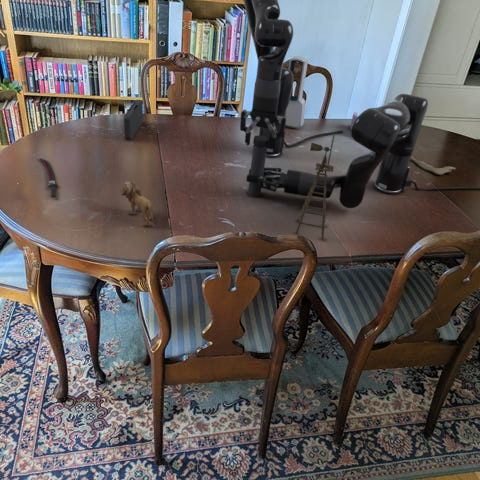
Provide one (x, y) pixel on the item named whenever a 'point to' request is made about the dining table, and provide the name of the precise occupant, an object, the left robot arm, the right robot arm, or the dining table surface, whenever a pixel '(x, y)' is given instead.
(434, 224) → the dining table surface
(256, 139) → the lid
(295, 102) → the electronic device
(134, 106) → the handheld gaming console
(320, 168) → the miniature windmill
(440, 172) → the jawbone
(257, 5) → the left robot arm
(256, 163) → the dark grey cylinder
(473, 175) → the dining table surface
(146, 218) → the lion figurine
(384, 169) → the right robot arm
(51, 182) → the sword
